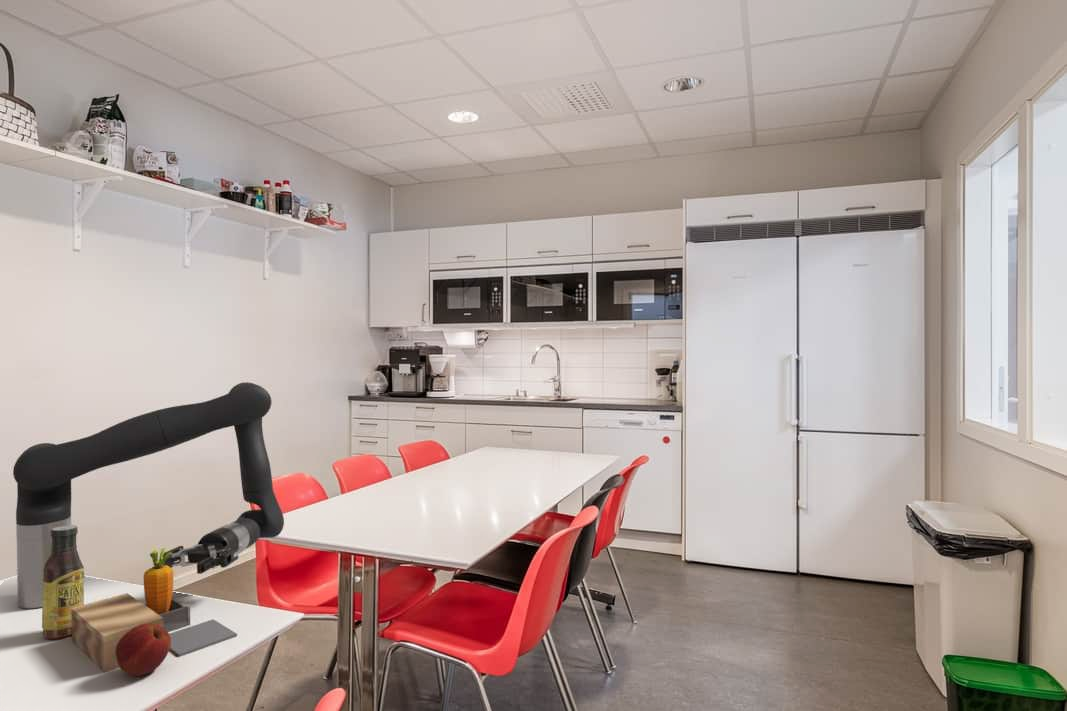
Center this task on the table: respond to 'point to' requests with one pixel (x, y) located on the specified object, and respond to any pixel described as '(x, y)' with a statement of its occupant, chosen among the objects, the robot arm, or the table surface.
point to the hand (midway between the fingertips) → (178, 568)
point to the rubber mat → (199, 637)
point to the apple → (142, 649)
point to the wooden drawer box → (118, 625)
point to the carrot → (159, 584)
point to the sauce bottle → (62, 583)
